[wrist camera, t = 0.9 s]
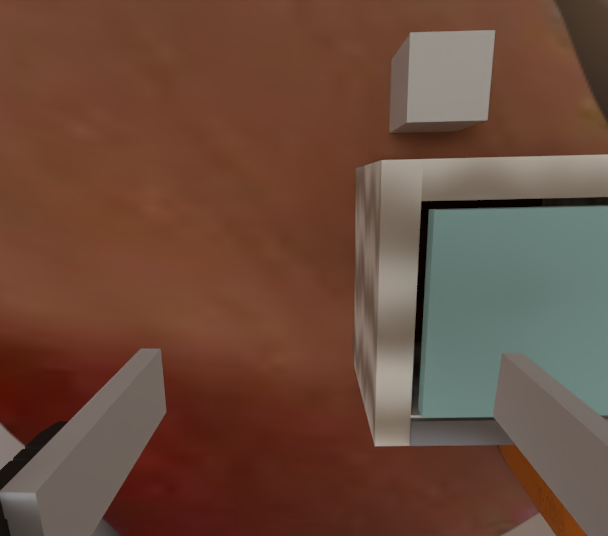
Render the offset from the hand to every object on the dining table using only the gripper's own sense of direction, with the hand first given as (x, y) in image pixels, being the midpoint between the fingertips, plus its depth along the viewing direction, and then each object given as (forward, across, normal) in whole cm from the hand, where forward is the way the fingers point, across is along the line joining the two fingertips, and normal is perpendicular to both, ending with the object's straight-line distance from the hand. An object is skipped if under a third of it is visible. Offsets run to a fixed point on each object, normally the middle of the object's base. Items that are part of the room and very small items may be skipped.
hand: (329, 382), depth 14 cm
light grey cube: (+22, +9, +15) cm, 28 cm away
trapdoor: (+10, +14, -1) cm, 17 cm away
